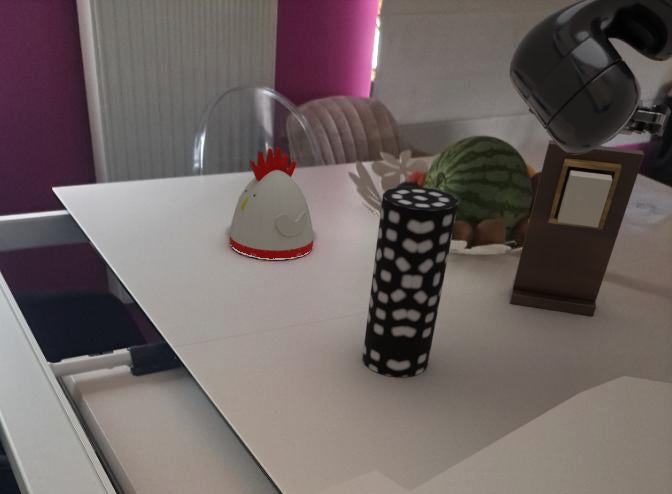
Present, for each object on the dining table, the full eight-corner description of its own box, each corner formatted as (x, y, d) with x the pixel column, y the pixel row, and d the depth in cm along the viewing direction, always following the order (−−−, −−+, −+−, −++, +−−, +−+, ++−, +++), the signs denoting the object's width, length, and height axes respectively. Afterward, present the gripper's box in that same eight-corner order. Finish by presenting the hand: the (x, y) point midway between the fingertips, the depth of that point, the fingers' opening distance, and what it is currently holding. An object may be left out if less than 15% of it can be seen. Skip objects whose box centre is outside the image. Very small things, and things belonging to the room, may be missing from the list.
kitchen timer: (215, 238, 125) (213, 141, 115) (283, 226, 131) (287, 133, 121) (258, 266, 116) (260, 164, 107) (328, 252, 122) (337, 154, 113)
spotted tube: (348, 357, 94) (367, 194, 81) (392, 339, 99) (416, 182, 86) (397, 384, 90) (424, 215, 77) (440, 364, 94) (473, 201, 81)
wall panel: (511, 288, 114) (549, 136, 101) (591, 300, 112) (641, 147, 98) (509, 303, 110) (549, 146, 96) (593, 316, 108) (645, 158, 94)
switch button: (557, 216, 101) (570, 170, 97) (597, 222, 100) (611, 175, 96) (557, 222, 99) (570, 175, 95) (597, 227, 98) (612, 180, 94)
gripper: (683, 70, 69) (680, 89, 82) (531, 48, 73) (552, 70, 87) (651, 158, 72) (653, 162, 86) (508, 132, 77) (531, 140, 90)
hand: (602, 116), depth 86 cm, fingers open, 8 cm apart
